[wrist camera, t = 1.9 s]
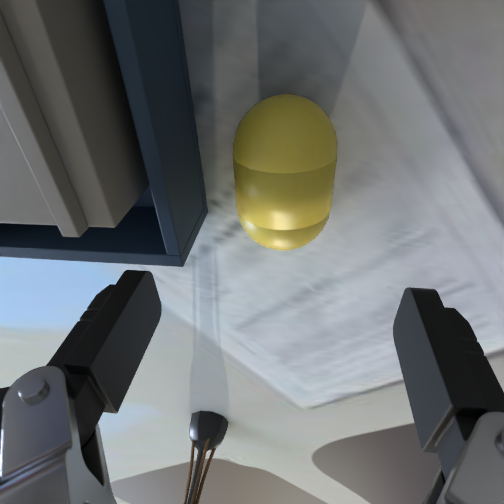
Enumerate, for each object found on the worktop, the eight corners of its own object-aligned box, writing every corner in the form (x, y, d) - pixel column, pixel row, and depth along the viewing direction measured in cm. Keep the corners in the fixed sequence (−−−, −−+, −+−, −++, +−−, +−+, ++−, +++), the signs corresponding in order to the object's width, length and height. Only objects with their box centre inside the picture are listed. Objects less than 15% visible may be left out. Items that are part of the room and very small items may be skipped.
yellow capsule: (238, 84, 17) (217, 111, 13) (339, 82, 17) (350, 110, 13) (246, 217, 22) (232, 267, 18) (324, 220, 22) (328, 272, 18)
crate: (-133, -101, 15) (-330, -145, 10) (159, -132, 13) (81, -200, 8) (27, 206, 24) (-37, 255, 20) (208, 212, 22) (183, 267, 18)
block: (-47, 4, 17) (-284, 10, 10) (140, -6, 15) (12, -7, 9) (26, 156, 22) (-100, 229, 15) (172, 158, 20) (106, 239, 14)
